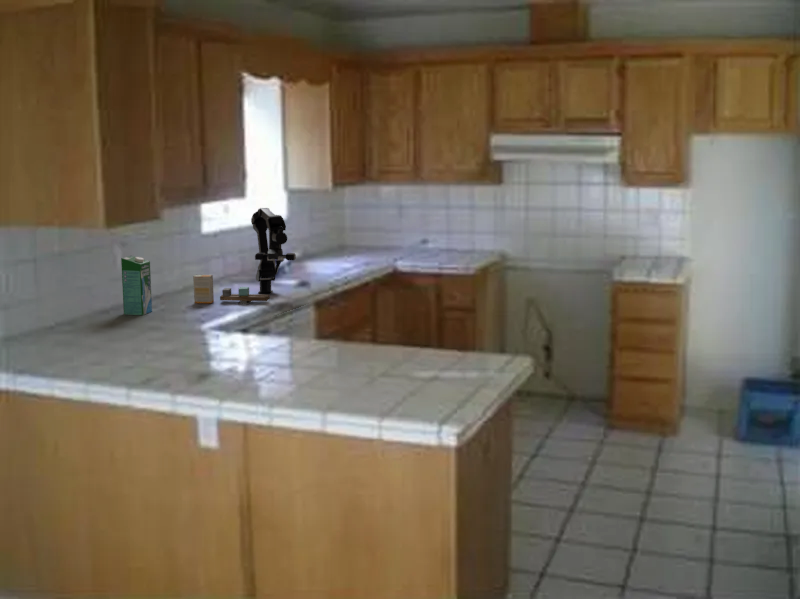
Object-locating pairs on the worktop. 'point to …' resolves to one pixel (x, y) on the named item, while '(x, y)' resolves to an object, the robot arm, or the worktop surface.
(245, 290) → the block
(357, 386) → the worktop surface
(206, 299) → the supplement box
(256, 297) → the brown long slotted block
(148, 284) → the milk carton
